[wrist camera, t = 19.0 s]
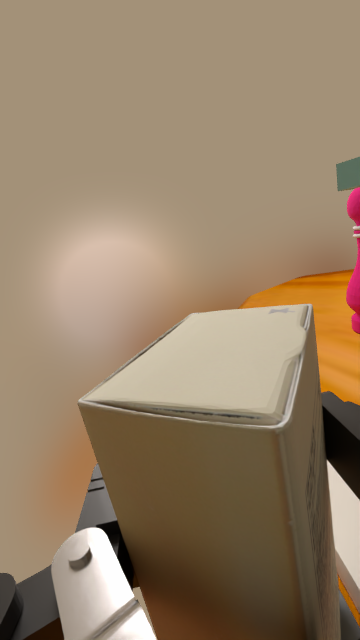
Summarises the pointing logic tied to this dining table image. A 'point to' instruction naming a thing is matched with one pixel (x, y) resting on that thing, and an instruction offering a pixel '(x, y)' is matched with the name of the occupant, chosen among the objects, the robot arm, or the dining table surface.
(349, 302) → the pepper mill
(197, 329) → the skincare box
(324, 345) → the dining table surface
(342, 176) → the swing bar
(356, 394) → the dining table surface
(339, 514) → the holder
